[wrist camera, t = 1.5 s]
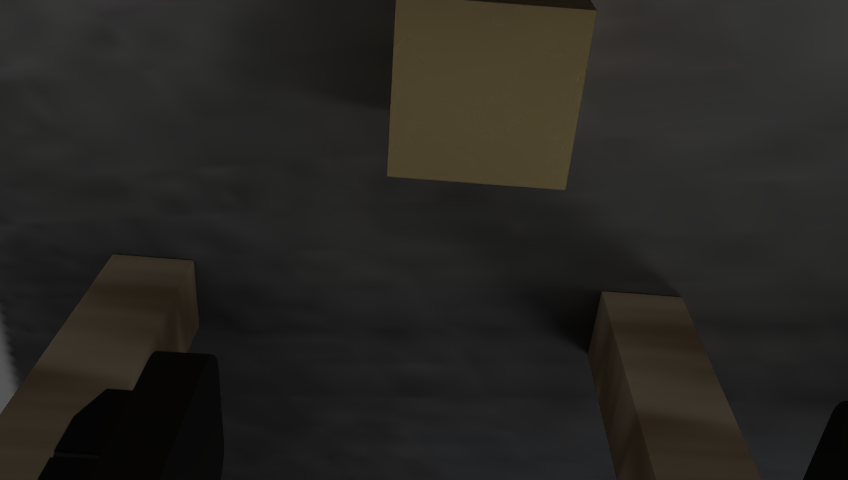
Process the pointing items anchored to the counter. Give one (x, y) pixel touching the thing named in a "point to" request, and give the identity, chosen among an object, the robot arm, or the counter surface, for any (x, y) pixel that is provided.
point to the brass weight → (488, 89)
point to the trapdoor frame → (179, 321)
